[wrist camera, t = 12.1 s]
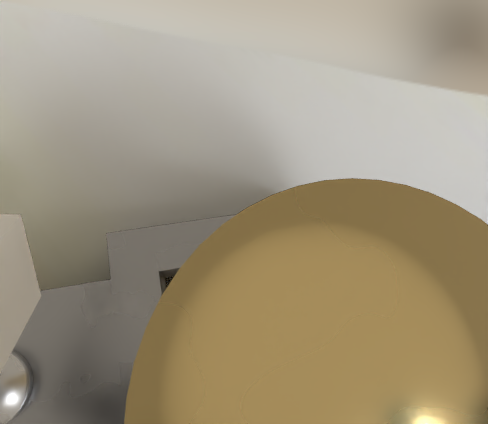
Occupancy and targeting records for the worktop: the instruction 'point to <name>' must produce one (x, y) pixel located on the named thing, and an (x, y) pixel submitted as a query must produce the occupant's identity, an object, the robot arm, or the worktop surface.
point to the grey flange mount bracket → (95, 331)
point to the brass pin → (324, 315)
